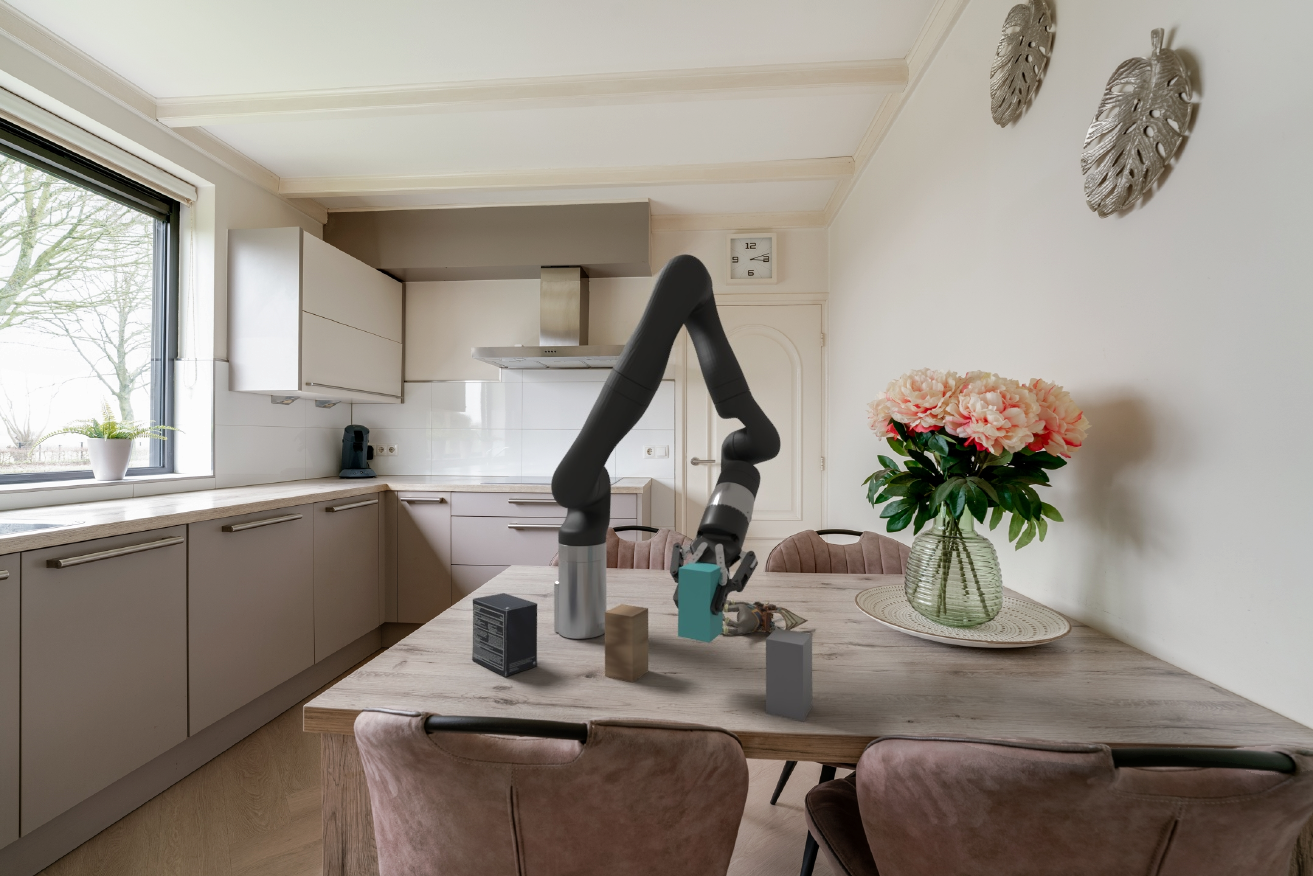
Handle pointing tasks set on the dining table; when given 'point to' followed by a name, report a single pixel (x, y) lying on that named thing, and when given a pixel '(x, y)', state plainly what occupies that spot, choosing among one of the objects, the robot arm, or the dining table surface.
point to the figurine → (757, 617)
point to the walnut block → (626, 642)
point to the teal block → (698, 602)
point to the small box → (504, 633)
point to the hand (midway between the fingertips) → (695, 609)
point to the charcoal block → (789, 674)
